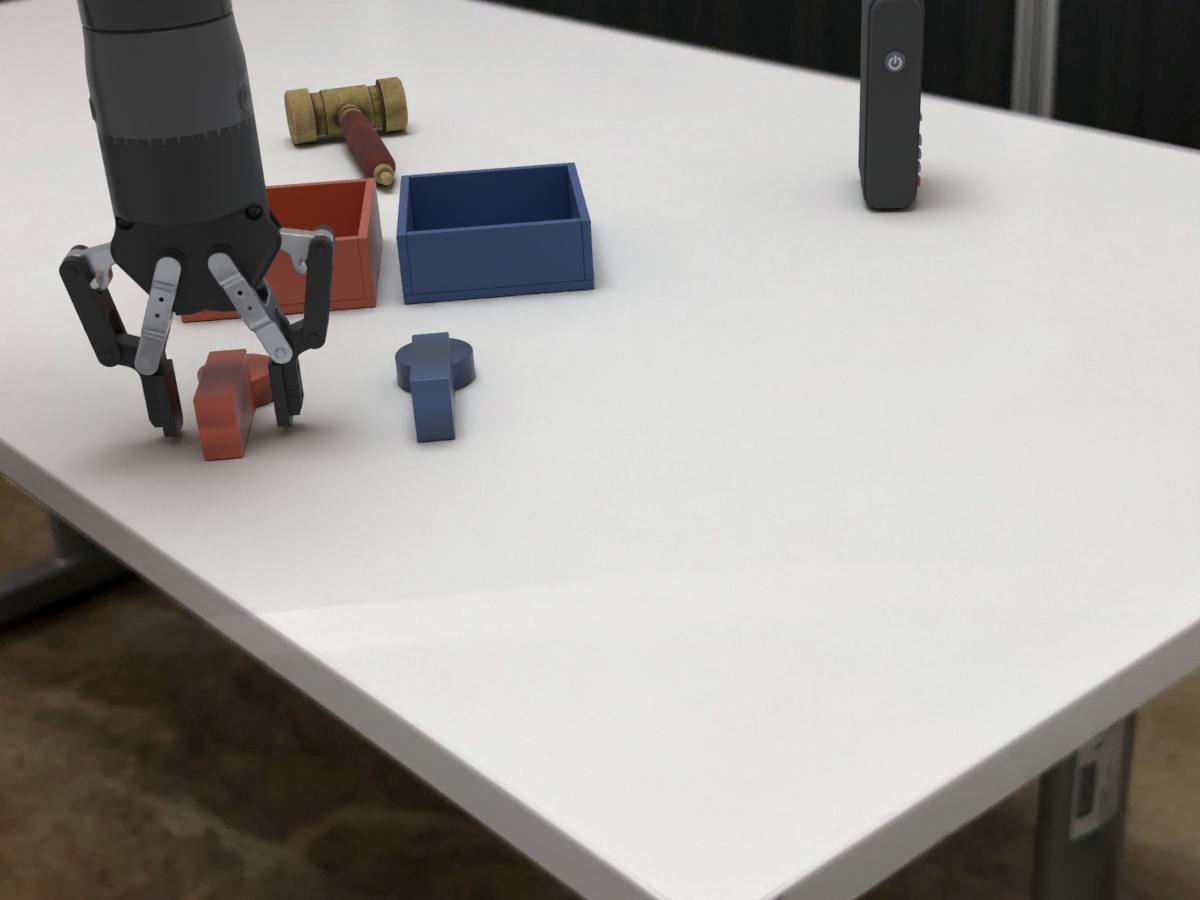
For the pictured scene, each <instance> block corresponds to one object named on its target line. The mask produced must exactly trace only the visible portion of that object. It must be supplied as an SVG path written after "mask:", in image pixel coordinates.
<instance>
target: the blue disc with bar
mask: <svg viewBox="0 0 1200 900" xmlns="http://www.w3.org/2000/svg"><path fill="white" fill-rule="evenodd" d="M394 361H395V370H396V379H397V384H398V385H399V387H400V388H402V390H403V389H404V390H405V391H407V392H410V393H411V402H412V411H413V420H414V429H415V436H416V442H417V443H419V442H432V441H444V440H454V439H456V410H455V409H456V408H455V405H456V403H455V399H456V398H455V391H456V390H459V389H461V388H463V387H465V386H467V385H469V384H470V383H472V382H473V381H474V379H475V377H476V368H475V367H476V366H475V357H474V349H473V346H472V345H471V344H470V343H469V342H467V341H465V340H462V339H459V338H454V337H450V334H449V331H442V332H429V333H417V334H412V335H411V342H409V343H407V344H405V345H403V346H401V347H400V348H399V349H398V350H397V351H396V352H395V354H394Z"/></svg>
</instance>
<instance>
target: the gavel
mask: <svg viewBox="0 0 1200 900" xmlns="http://www.w3.org/2000/svg"><path fill="white" fill-rule="evenodd" d="M283 102H284V109H285V116H286V117H285V118H286V123H287V127H288V132H289V136H290V139H291V141H292V142H293V144H294V145H298V144H299V145H300V144H306V143H315V142H317V136H326V137H332V136H340V135H343V137H344V139H345V140H346V142H347V144H348V146H349V148H350V149H351V151H352V153H353V155H354V157H355V158H356V160H357V162H358V164H359V166H360V168H361V169H362V171H363V173H364V175H365V176H366V179H367V178H375V181H376V184H377V183H378V184H380V185H384V186H390V185H391V184H392V183H393V181H394V178H395V173H396V169H397V165H396V161H395V158H394V157H393V156H392V154H391V152H390V151H389V149H388V148H387V146H386V144H385V142H384V141H383V139H382V137H381V136H380V134H379V133H378V131H377V130H376V129H378V128H381V129H382V130H383V132H384V133H389V132H397V131H405V130H406V129H407V127H408V125H409V110H408V103H407V95H406V92H405V88H404V84H403V82H402V80H401V79H400V78H399V77H398V76H392V77H384V78H377V79H376V80H375V84H373V85H367V84H356V85H349V86H343V87H341V86H340V87H335V88H326V89H325V88H324V89H319V91H318V92H317V91H316V92H310V91H309V88H308V87H305V88H303V87H302V88H296V89H295V88H294V89H288V90H285V92H284V96H283Z"/></svg>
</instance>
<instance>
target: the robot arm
mask: <svg viewBox="0 0 1200 900" xmlns="http://www.w3.org/2000/svg"><path fill="white" fill-rule="evenodd" d="M76 3H77V9H78V14H79V20H80V24H81V25H82V26H81V29H82V36H83V46H84V47H83V48H84V49H83V50H84V65H85V75H86V83H87V88H88V93H89V98H88V103H89V108H90V114H91V118H92V120H93V121H94V123H95V127H96V133H97V138H98V143H99V148H100V153H101V159H102V163H103V169H104V173H105V179H106V183H107V188H108V193H109V198H110V199H109V200H110V204H111V208H112V213H113V218H114V232H113V236H112V239H111V240H110V241H108V242H104V243H101V244H98V245H95V246H91V247H88V245H84V244H76V245H73V246H72V247H71V248H70V249H69V251H68V252H67V254H66V255H65V257H64V258H63V259H62V261H61V264H60V265H59V267H58V273H59V276H60V278H61V281H62V283H63V285H64V287H65V290H66V293H67V294H68V296H69V299H70V301H71V303H72V305H73V308H74V310H75V312H76V314H77V316H78V318H79V321H80V324H81V325H82V328H83V330H84V332H85V334H86V336H87V339H88V341H89V344H90V346H91V348H92V350H93V353H94V354H95V357H96V359H97V361H98V362H99V364H101V365H102V366H104V367H106V368H113V367H116V366H123V367H127V368H131V370H134V371H135V372H136V373H137V375H138V376H139V378H140V381H141V386H142V392H143V397H144V401H145V406H146V413H147V418H148V421H149V422H150V424H151V425H152V427H153V428H154V429H156V428H157V429H159V428H162V433H163V436H164V438H175V437H180V435H181V432H182V429H183V426H184V414H183V408H182V403H181V398H180V392H179V387H178V383H177V378H176V377H177V376H176V372H175V367H174V361H173V358H167V353H166V348H167V346H168V345H167V344H168V341H169V336H170V333H171V329H172V325H173V321H174V318H175V316H176V317H179V316H180V317H181V315H191V314H194V313H197V312H200V311H203V310H213V311H219V312H228V311H238V313H239V314H240V316H241V317H240V318H241V319H242V320H243V322H244V324H245V326H246V327H247V328H248V329H249V331H250V332H253V333H254V334H255V336H256V337H257V339H258V341H259V342H260V344H261V345H262V347H263V349H264V350H265V352H266V354H267V356H269V357H270V359H269V363H268V371H269V377H270V383H271V389H272V396H273V400H272V402H273V407H274V414H275V421H276V425H277V427H278V428H284V427H286V428H287V427H292V426H293V421H294V416H300V415H301V411H302V408H303V403H304V398H305V391H304V386H303V379H302V372H301V366H300V358H299V356H300V355H301V354H302V353H304V352H307V351H309V350H319V349H321V348H322V347H324V345H325V344H326V341H327V335H328V328H329V323H330V322H329V321H330V311H331V310H330V299H331V286H332V274H333V261H334V248H335V232H334V230H333V229H332V228H331V227H329V226H327V225H319V226H317V227H315V228H314V230H313V231H308V230H299V229H290V228H282V226H281V224H280V222H279V221H278V219H277V218H276V217H275V216H274V214H273V213H272V211H271V209H270V207H269V203H268V199H267V192H266V186H267V185H266V181H265V180H266V179H265V173H264V168H263V167H264V166H263V160H262V154H261V148H260V141H259V135H258V129H257V122H256V114H255V109H254V102H253V96H252V89H251V83H250V77H249V76H250V75H249V70H248V63H247V59H246V54H245V50H244V47H243V43H242V40H241V36H240V34H239V30H238V27H237V23H236V18H235V13H234V10H233V9H234V8H233V2H232V0H76ZM279 250H282V251H285V252H286V253H288V254H289V255H290V257H291V259H292V265H293V268H294V269H295V270H296V271H297V272H298V273H300V274H305V275H307V276H306V290H305V304H304V312H303V318H302V319H299V320H297V321H295V322H292V323H291V322H290V321H289V319H288V318H287V315H286V314H284V312H283V311H282V309H281V308H280V306H279V304H278V300H277V297H276V295H275V293H274V291H273V290H272V288H271V287H270V285H269V283H268V282H267V280H266V278H265V277H264V276H265V275H266V273H267V271H268V269H269V268H270V266H271V264H272V263H273V261H274V259H275V257H276V256H277V254H278V252H279ZM114 265H117V266H118V268H119V269H121V270H122V271H123V272H124V273H125V274H126V275H127V276H128V277H129V278H130V279H131V280H132V281H133V282H134V283H135V284H136V285H138V287H140V288H141V290H143V292H145V293H146V295H148V300H147V304H146V307H145V308H146V309H145V312H144V317H143V321H142V325H141V329H140V330H141V331H140V336H139V335H135V334H132V333H128V331H127V329H126V327H125V324H124V322H123V320H122V317H121V315H120V313H119V310H118V308H117V305H116V303H115V301H114V298H113V296H112V293H111V292H110V290H109V288H108V287H109V285H110V284H111V282H112V280H113V277H114V273H113V266H114Z"/></svg>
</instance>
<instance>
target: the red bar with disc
mask: <svg viewBox="0 0 1200 900" xmlns="http://www.w3.org/2000/svg"><path fill="white" fill-rule="evenodd" d="M269 359H270V356H269V355H266V354H262V353H248V352H247V349H246V348H239V349H238V348H236V349H224V350H214V351H213V350H212V351H209V352H208V355H207V358H206V361H205V364H203V365H202V366H201V367H200V368H199V369H198V371H197V373H196V376H197V382H198V384H197V387H196V390H195V392H194V396H193V398H192V403H193V408H194V414H195V420H196V425H197V429H198V436H199V439H200V447H201V450H202V451H201V452H202V458H203V460H204V461H212V460H213V461H214V460H224V459H235V458H236V459H237V458H243V457H244V452H245V448H246V444H247V441H248V437H249V433H250V429H251V424H252V421H253V417H254V413H255V409H256V408H257V407H260V406H263V405H265V404H268V403H269V402H272V401H273V396H272V389H271V383H270V377H269V371H268V363H269Z"/></svg>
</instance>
